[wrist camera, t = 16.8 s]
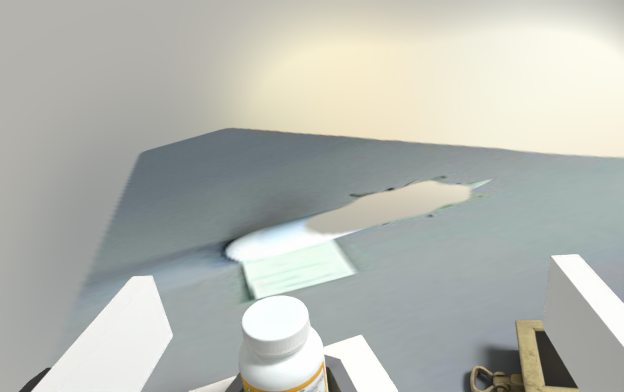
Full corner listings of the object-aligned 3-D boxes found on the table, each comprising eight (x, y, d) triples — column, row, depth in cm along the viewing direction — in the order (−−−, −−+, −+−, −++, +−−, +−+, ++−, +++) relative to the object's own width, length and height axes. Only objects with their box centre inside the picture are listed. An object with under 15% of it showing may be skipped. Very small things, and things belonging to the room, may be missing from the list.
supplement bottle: (331, 466, 25) (317, 349, 21) (247, 467, 25) (218, 352, 21) (332, 392, 30) (321, 286, 26) (262, 394, 30) (240, 290, 26)
